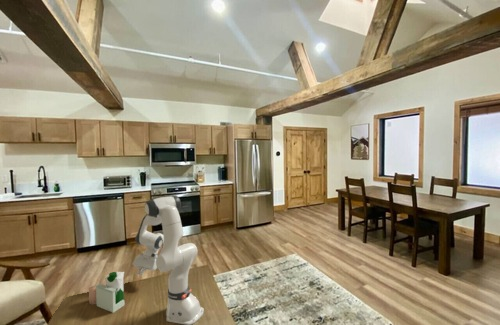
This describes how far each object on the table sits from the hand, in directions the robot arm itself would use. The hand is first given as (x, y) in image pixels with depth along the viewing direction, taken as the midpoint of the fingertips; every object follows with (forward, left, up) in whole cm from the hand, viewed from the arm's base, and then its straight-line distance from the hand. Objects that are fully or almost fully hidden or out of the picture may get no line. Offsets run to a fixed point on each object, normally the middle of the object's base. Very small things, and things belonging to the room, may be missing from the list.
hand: (139, 274), depth 159 cm
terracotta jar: (+14, +22, -9) cm, 28 cm away
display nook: (+1, +21, -9) cm, 23 cm away
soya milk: (0, +18, -9) cm, 20 cm away
